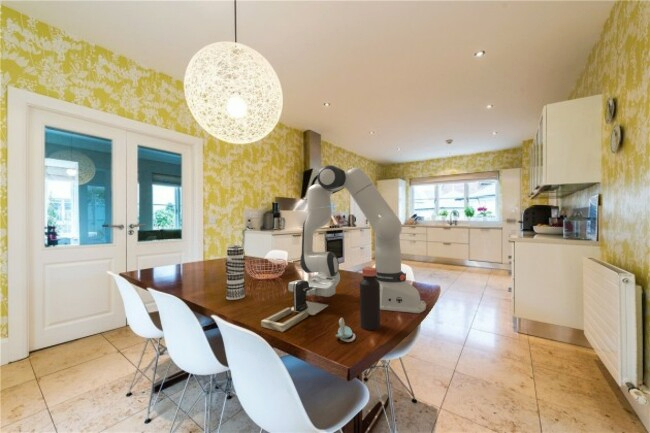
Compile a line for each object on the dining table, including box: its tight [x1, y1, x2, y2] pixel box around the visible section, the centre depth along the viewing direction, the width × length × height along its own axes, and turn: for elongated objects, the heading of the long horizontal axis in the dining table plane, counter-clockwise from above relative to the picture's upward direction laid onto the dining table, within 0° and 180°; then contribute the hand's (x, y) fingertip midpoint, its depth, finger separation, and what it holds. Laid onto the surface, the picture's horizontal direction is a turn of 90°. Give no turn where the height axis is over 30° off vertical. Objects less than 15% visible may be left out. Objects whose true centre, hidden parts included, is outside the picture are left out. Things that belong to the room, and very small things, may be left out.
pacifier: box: [335, 317, 356, 343], centre depth 82 cm, size 7×6×6 cm
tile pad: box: [290, 300, 329, 316], centre depth 109 cm, size 12×12×1 cm
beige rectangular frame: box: [260, 307, 309, 333], centre depth 95 cm, size 9×16×2 cm, turn 151°
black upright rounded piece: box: [292, 279, 309, 313], centre depth 105 cm, size 7×4×11 cm, turn 152°
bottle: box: [359, 266, 381, 331], centre depth 90 cm, size 7×7×20 cm
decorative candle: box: [225, 244, 246, 301], centre depth 126 cm, size 9×9×25 cm
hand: (300, 292), depth 104 cm, fingers closed on black upright rounded piece, 4 cm apart
